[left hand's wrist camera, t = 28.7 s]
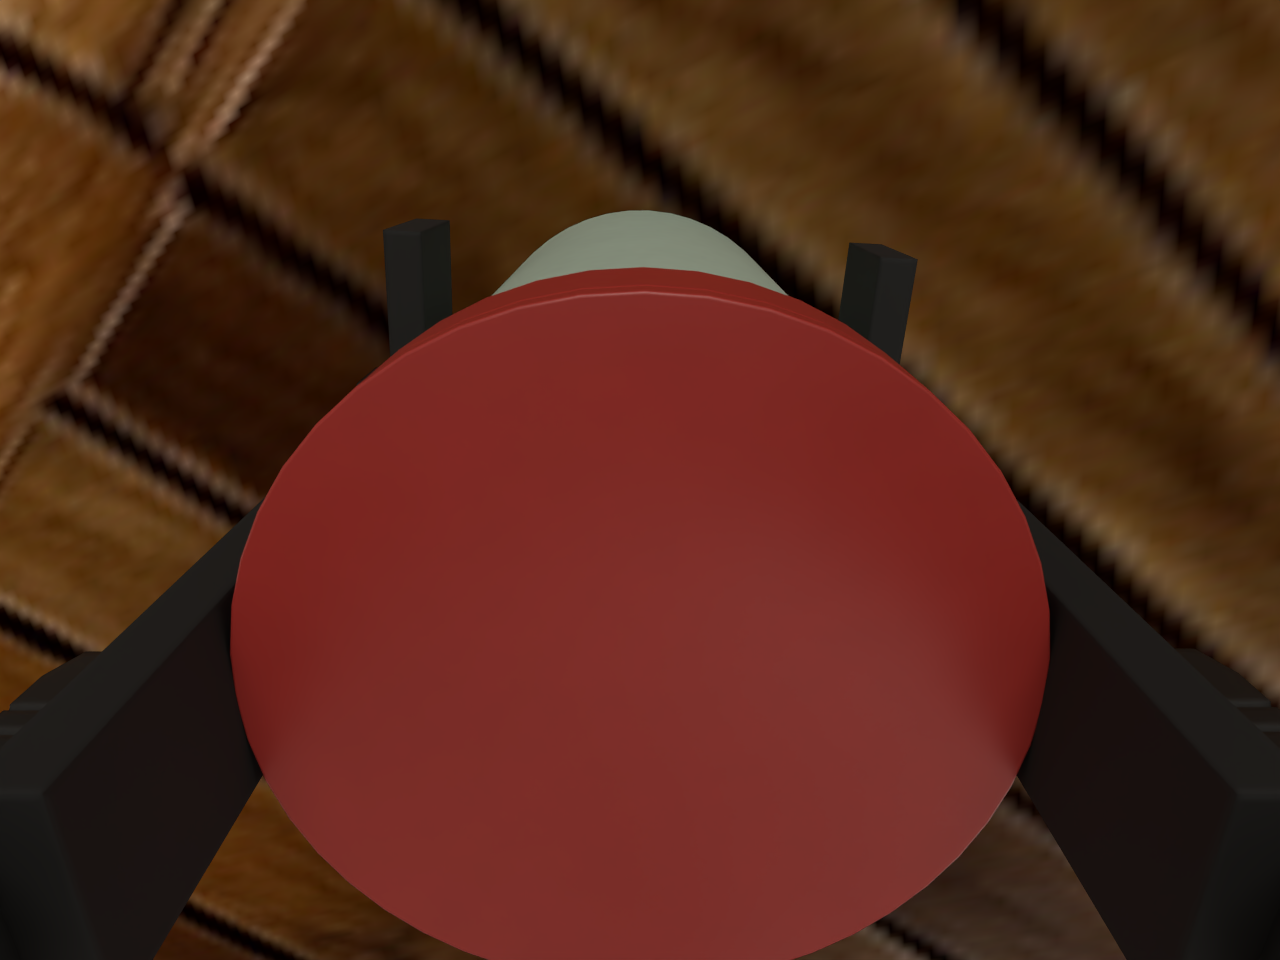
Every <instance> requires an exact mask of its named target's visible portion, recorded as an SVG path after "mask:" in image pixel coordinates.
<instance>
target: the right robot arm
mask: <svg viewBox="0 0 1280 960" xmlns="http://www.w3.org/2000/svg"><path fill="white" fill-rule="evenodd" d="M383 237H384V254H385V271H386V289H387V306H388V323H389V340H390V357H391V356H392V355H393V354H395V353H396V352H397V351H398V350H399V349H401V348H402V347H404V346H405V345H406V344H408V343H409V342H411V341H412V340H414V339H415V338H416V337H418V336H419V335H421V334H422V333H424V332H425V331H427V330H428V329H429V328H431V327H432V326H434V325H435V324H437V323H438V322H439V321H441V320H443V319H445V318H447V317H449V316H451V315H452V289H451V256H450V222H449V220H431V219H414V220H411V221H408V222H405V223H402V224H399V225H396V226H393V227H390V228H388V229H385V230H383ZM917 260H918V259H915V258H913V257H910V256H908V255H906V254H903V253H901V252H898V251H896V250H894V249H891V248H889V247H886V246H884V245H881V244H863V243H849V250H848V257H847V264H846V271H845V278H844V285H843V292H842V299H841V306H840V313H839V321H840V322H842V323H844V324H846V325H847V326H849V327H850V328H852V329H853V330H854V331H856V332H857V333H858V334H860V335H861V336H863V337H864V338H865V339H867V340H868V341H870V342H871V343H872V344H874V345H875V346H876V347H878V348H879V349H881V350H882V351H883V352H885V353H886V354H887V355H888V356H890V357H891V358H892V359H893V360H894V361H896V362H897V363H898V364H900V359H901V353H902V347H903V341H904V335H905V330H906V324H907V318H908V312H909V306H910V301H911V295H912V289H913V283H914V277H915V272H916V266H917ZM376 369H377V368H375V369H373V370H372V371H371V372H370V373H369V374H368V375H366V376H365V377H364V378H363V379H362V380H361V381H359V382H358V383H357V385H358V384H360V383H361V382H362V381H363V380H364V379H366V378H367V377H368V376H369V375H370V374H371V373H372V372H374V371H375V370H376Z"/></svg>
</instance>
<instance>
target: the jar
mask: <svg viewBox="0 0 1280 960" xmlns="http://www.w3.org/2000/svg"><path fill="white" fill-rule="evenodd" d="M636 267H649V268H663V269H676V270H689V271H699V272H704V273H709V274H714V275H718V276H723V277H728V278H732V279H737V280H742V281H746V282H751V283H754V284H756V285H759V286H762V287H765V288H767V289H770V290H773V291H776V292H779V293H781V294H784V295H787V294H786V293H785V292H784V291H783V290H782V289H781V288H780V287H779V286H778V285H777V284H776V283H775V282H774V281H773V280H772V279H771V278H770V277H769V276H768V275H767V274H766V273H765V272H764V270H763V269H762V268H761V267H760V266H759V265H758V264H757V263H756V262H755V261H754V260H753V259H752V258H751V257H750V256H749V255H748V254H747V253H746V252H745V251H744V250H743V249H741V248H740V247H739V246H738V245H736V244H735V243H734V242H733V241H731V240H730V239H729V238H728V237H726V236H724V235H723V234H721V233H719V232H718V231H716V230H714V229H713V228H711V227H709V226H706V225H704V224H702V223H699V222H697V221H695V220H692V219H689V218H686V217H682V216H679V215H675V214H671V213H664V212H657V211H623V212H616V213H609V214H605V215H601V216H598V217H594V218H591V219H587V220H585V221H583V222H580V223H578V224H576V225H574V226H571V227H569V228H567V229H565V230H564V231H562V232H561V233H559V234H557V235H556V236H554V237H553V238H551V239H549V240H548V241H547V242H546V243H545V244H543V245H542V246H541V247H540V248H539V249H537V250H536V251H535V252H534V253H533V254H532V255H531V256H530V257H529V258H528V259H527V260H526V261H525V262H524V263H523V264H522V265H521V266H520V267H519V268H518V269H517V270H516V271H515V272H514V273H513V274H512V275H511V276H510V277H509V278H508V280H507V281H506V282H505V283H504V284H503V285H502V286H501V287H500V288H499V289H498V290H497V291H496V292H495V293H494V294H493V295H496V294H499V293H502V292H505V291H507V290H510V289H513V288H516V287H519V286H522V285H525V284H528V283H531V282H534V281H537V280H542V279H547V278H552V277H557V276H563V275H568V274H573V273H578V272H583V271H588V270H602V269H619V268H636ZM493 295H492V296H493ZM787 296H788V295H787Z"/></svg>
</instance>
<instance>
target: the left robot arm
mask: <svg viewBox="0 0 1280 960" xmlns="http://www.w3.org/2000/svg"><path fill="white" fill-rule="evenodd" d="M264 499H265V498H264ZM264 499H263V500H262V501H261V502H260V503H259V504H258V505H257V506H255V507H254V508H253V509H252V510H251V511H250V512H249V513H248V514H247V515H246V516H245V517H244V518H243V519H242V520H241V521H240V522H239V523H238V524H236V525H235V526H234V527H233V528H232V529H231V530H230V531H229V532H228V533H227V534H226V535H225V536H224V537H223V538H222V539H221V540H220V541H219V542H217V543H216V544H215V545H214V546H213V547H212V548H211V549H210V550H209V551H208V552H207V553H206V554H205V555H204V556H203V557H202V558H201V559H200V560H198V561H197V562H196V563H195V564H194V565H193V566H192V567H191V568H190V569H189V570H188V571H187V572H186V573H185V574H184V575H183V576H182V577H180V578H179V579H178V580H177V581H176V582H175V583H174V584H173V585H172V586H171V587H170V588H169V589H168V590H167V591H166V592H165V593H164V594H163V595H161V596H160V597H159V598H158V599H157V600H156V601H155V602H154V603H153V604H152V605H151V606H150V607H149V608H148V609H147V610H146V611H145V612H144V613H142V614H141V615H140V616H139V617H138V618H137V619H136V620H135V621H134V622H133V623H132V624H131V625H130V626H129V627H128V628H127V629H126V630H125V631H123V632H122V633H121V634H120V635H119V636H118V637H117V638H116V639H115V640H114V641H113V642H112V643H111V644H110V645H109V646H108V647H107V648H105V649H104V650H103V651H102V652H84V653H83V654H81V655H79V656H77V657H75V658H74V659H72V660H70V661H68V662H66V663H65V664H63V665H61V666H59V667H57V668H56V669H54V670H52V671H50V672H48V673H47V674H45V675H43V676H42V677H40V678H39V679H38V680H37V681H36V682H35V683H34V684H33V685H31V686H30V687H29V688H28V689H27V690H26V691H25V692H24V693H22V694H21V695H20V696H19V697H18V698H17V699H16V700H15V701H14V702H12V703H11V704H10V709H9V711H2V712H1V713H0V960H153V958H154V957H155V955H156V953H157V952H158V950H159V948H160V947H161V945H162V943H163V941H164V940H165V938H166V936H167V935H168V933H169V931H170V930H171V928H172V926H173V925H174V923H175V921H176V920H177V918H178V916H179V915H180V913H181V911H182V910H183V908H184V906H185V905H186V903H187V901H188V900H189V898H190V896H191V894H192V893H193V891H194V889H195V888H196V886H197V884H198V883H199V881H200V879H201V878H202V876H203V874H204V873H205V871H206V869H207V868H208V866H209V864H210V863H211V861H212V859H213V858H214V856H215V854H216V853H217V851H218V849H219V848H220V846H221V844H222V842H223V841H224V839H225V837H226V836H227V834H228V832H229V831H230V829H231V827H232V826H233V824H234V822H235V821H236V819H237V817H238V816H239V814H240V812H241V811H242V809H243V807H244V806H245V804H246V802H247V801H248V799H249V797H250V796H251V794H252V792H253V790H254V789H255V787H256V785H257V784H258V782H259V780H260V779H261V777H262V775H263V773H262V771H261V769H260V766H259V764H258V762H257V760H256V758H255V755H254V753H253V751H252V749H251V746H250V744H249V742H248V739H247V736H246V732H245V729H244V725H243V721H242V718H241V714H240V710H239V706H238V702H237V697H236V692H235V687H234V680H233V672H232V664H231V656H230V638H231V606H232V600H233V595H234V589H235V584H236V579H237V574H238V569H239V563H240V558H241V555H242V553H243V550H244V547H245V544H246V542H247V539H248V536H249V533H250V531H251V528H252V525H253V522H254V520H255V517H256V514H257V512H258V510H259V508H260V506H261V504H262V503H263V501H264ZM1016 500H1017V499H1016ZM1017 502H1018V504H1019V506H1020V508H1021V509H1022V511H1023V513H1024V515H1025V517H1026V520H1027V523H1028V526H1029V529H1030V532H1031V534H1032V537H1033V540H1034V543H1035V546H1036V549H1037V552H1038V555H1039V558H1040V561H1041V564H1042V570H1043V575H1044V581H1045V587H1046V593H1047V599H1048V605H1049V611H1050V662H1049V669H1048V674H1047V679H1046V684H1045V689H1044V694H1043V699H1042V704H1041V708H1040V712H1039V717H1038V721H1037V725H1036V729H1035V732H1034V736H1033V739H1032V742H1031V746H1030V748H1029V750H1028V752H1027V754H1026V756H1025V758H1024V760H1023V763H1022V765H1021V767H1020V769H1019V771H1018V773H1017V776H1018V778H1019V780H1020V781H1021V783H1022V785H1023V786H1024V788H1025V790H1026V791H1027V793H1028V795H1029V796H1030V798H1031V800H1032V801H1033V803H1034V805H1035V806H1036V808H1037V810H1038V811H1039V813H1040V815H1041V817H1042V818H1043V820H1044V822H1045V823H1046V825H1047V827H1048V828H1049V830H1050V832H1051V833H1052V835H1053V837H1054V838H1055V840H1056V842H1057V843H1058V845H1059V847H1060V848H1061V850H1062V852H1063V853H1064V855H1065V857H1066V858H1067V860H1068V862H1069V864H1070V865H1071V867H1072V869H1073V870H1074V872H1075V874H1076V875H1077V877H1078V879H1079V880H1080V882H1081V884H1082V885H1083V887H1084V889H1085V890H1086V892H1087V894H1088V895H1089V897H1090V899H1091V900H1092V902H1093V904H1094V905H1095V907H1096V909H1097V910H1098V912H1099V914H1100V916H1101V917H1102V919H1103V921H1104V922H1105V924H1106V926H1107V927H1108V929H1109V931H1110V932H1111V934H1112V936H1113V937H1114V939H1115V941H1116V942H1117V944H1118V946H1119V947H1120V949H1121V951H1122V952H1123V954H1124V956H1125V957H1126V959H1127V960H1280V710H1279V709H1278V708H1277V707H1271V705H1270V701H1269V700H1268V699H1267V698H1266V697H1265V696H1264V695H1262V694H1261V693H1260V692H1259V691H1258V690H1257V689H1256V688H1255V687H1253V686H1252V685H1251V684H1250V683H1249V682H1248V681H1247V680H1246V679H1244V678H1243V677H1242V676H1241V675H1240V674H1239V673H1237V672H1235V671H1234V670H1232V669H1230V668H1228V667H1226V666H1225V665H1223V664H1221V663H1219V662H1217V661H1215V660H1214V659H1212V658H1210V657H1208V656H1206V655H1205V654H1203V653H1201V652H1199V651H1197V650H1196V649H1174V648H1173V647H1172V646H1171V645H1170V644H1169V643H1168V642H1167V641H1165V640H1164V639H1163V638H1162V637H1161V636H1160V635H1159V634H1158V633H1157V632H1156V631H1155V630H1154V629H1153V628H1152V627H1151V626H1150V625H1149V624H1148V623H1146V622H1145V621H1144V620H1143V619H1142V618H1141V617H1140V616H1139V615H1138V614H1137V613H1136V612H1135V611H1134V610H1133V609H1132V608H1131V607H1130V606H1129V605H1127V604H1126V603H1125V602H1124V601H1123V600H1122V599H1121V598H1120V597H1119V596H1118V595H1117V594H1116V593H1115V592H1114V591H1113V590H1112V589H1111V588H1109V587H1108V586H1107V585H1106V584H1105V583H1104V582H1103V581H1102V580H1101V579H1100V578H1099V577H1098V576H1097V575H1096V574H1095V573H1094V572H1093V571H1092V570H1090V569H1089V568H1088V567H1087V566H1086V565H1085V564H1084V563H1083V562H1082V561H1081V560H1080V559H1079V558H1078V557H1077V556H1076V555H1075V554H1074V553H1073V552H1071V551H1070V550H1069V549H1068V548H1067V547H1066V546H1065V545H1064V544H1063V543H1062V542H1061V541H1060V540H1059V539H1058V538H1057V537H1056V536H1055V535H1054V534H1052V533H1051V532H1050V531H1049V530H1048V529H1047V528H1046V527H1045V526H1044V525H1043V524H1042V523H1041V522H1040V521H1039V520H1038V519H1037V518H1036V517H1035V516H1033V515H1032V514H1031V513H1030V512H1029V511H1028V510H1027V509H1026V508H1025V507H1024V506H1023V505H1022V504H1021V503H1020V502H1019V501H1018V500H1017Z"/></svg>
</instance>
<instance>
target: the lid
mask: <svg viewBox="0 0 1280 960" xmlns="http://www.w3.org/2000/svg"><path fill="white" fill-rule="evenodd" d="M230 656H231V664H232V672H233V680H234V687H235V692H236V697H237V702H238V706H239V710H240V714H241V718H242V721H243V725H244V729H245V732H246V736H247V739H248V742H249V744H250V746H251V749H252V751H253V753H254V755H255V758H256V760H257V762H258V764H259V766H260V769H261V771H262V773H263V775H264V778H265V780H266V782H267V783H268V785H269V787H270V788H271V790H272V791H273V793H274V795H275V796H276V798H277V799H278V801H279V803H280V804H281V806H282V807H283V809H284V811H285V812H286V814H287V815H288V817H289V819H290V820H291V821H292V822H293V823H294V825H295V826H296V827H297V828H298V830H299V831H300V832H301V833H302V834H303V836H304V837H305V838H306V839H307V841H308V842H309V843H310V844H311V845H312V847H313V848H314V849H315V850H316V852H317V853H318V854H319V855H320V856H322V857H323V858H324V859H325V860H326V861H327V862H328V863H329V864H330V865H331V866H332V867H333V868H334V869H335V870H336V871H337V872H338V873H339V874H340V875H341V876H342V877H344V878H345V879H346V880H347V881H348V882H349V883H350V884H351V885H353V886H354V887H355V888H357V889H358V890H359V891H361V892H362V893H363V894H365V895H366V896H367V897H368V898H370V899H371V900H372V901H374V902H375V903H376V904H378V905H379V906H380V907H382V908H383V909H384V910H386V911H388V912H389V913H391V914H393V915H394V916H396V917H398V918H399V919H401V920H403V921H404V922H406V923H408V924H409V925H411V926H413V927H414V928H416V929H418V930H419V931H421V932H423V933H425V934H427V935H429V936H432V937H434V938H436V939H438V940H440V941H442V942H444V943H447V944H449V945H451V946H453V947H455V948H457V949H460V950H462V951H464V952H467V953H470V954H473V955H476V956H479V957H481V958H484V959H487V960H793V959H796V958H799V957H802V956H805V955H808V954H811V953H813V952H816V951H818V950H820V949H822V948H824V947H827V946H829V945H831V944H833V943H836V942H838V941H840V940H842V939H844V938H847V937H849V936H851V935H853V934H855V933H857V932H858V931H860V930H862V929H864V928H865V927H867V926H869V925H871V924H872V923H874V922H876V921H877V920H879V919H881V918H883V917H884V916H886V915H888V914H889V913H891V912H893V911H894V910H895V909H897V908H898V907H899V906H901V905H902V904H903V903H905V902H906V901H908V900H909V899H910V898H912V897H913V896H914V895H916V894H917V893H918V892H920V891H921V890H922V889H924V888H925V887H927V886H928V885H929V884H930V883H931V882H932V881H933V880H934V879H935V878H936V877H937V876H939V875H940V874H941V873H942V872H943V871H944V870H945V869H946V868H947V867H948V866H949V865H950V864H951V863H953V862H954V861H955V860H956V859H957V858H958V857H959V856H960V855H961V854H962V852H963V851H964V850H965V849H966V848H967V847H968V845H969V844H970V843H971V842H972V841H973V839H974V838H975V837H976V836H977V835H978V834H979V832H980V831H981V830H982V829H983V828H984V826H985V825H986V824H987V823H988V822H989V820H990V818H991V817H992V815H993V814H994V812H995V811H996V809H997V808H998V806H999V804H1000V803H1001V801H1002V800H1003V798H1004V797H1005V795H1006V794H1007V792H1008V791H1009V789H1010V787H1011V786H1012V784H1013V782H1014V780H1015V778H1016V775H1017V773H1018V771H1019V769H1020V767H1021V765H1022V763H1023V760H1024V758H1025V756H1026V754H1027V752H1028V750H1029V748H1030V746H1031V742H1032V739H1033V736H1034V732H1035V729H1036V725H1037V721H1038V717H1039V712H1040V708H1041V704H1042V699H1043V694H1044V689H1045V684H1046V679H1047V674H1048V669H1049V662H1050V611H1049V605H1048V599H1047V593H1046V587H1045V581H1044V575H1043V570H1042V564H1041V561H1040V558H1039V555H1038V552H1037V549H1036V546H1035V543H1034V540H1033V537H1032V534H1031V532H1030V529H1029V526H1028V523H1027V520H1026V517H1025V515H1024V513H1023V511H1022V509H1021V508H1020V506H1019V504H1018V502H1017V500H1016V498H1015V496H1014V494H1013V493H1012V491H1011V489H1010V487H1009V485H1008V483H1007V481H1006V479H1005V478H1004V476H1003V474H1002V472H1001V471H1000V469H999V468H998V467H997V465H996V464H995V463H994V461H993V460H992V459H991V457H990V456H989V455H988V453H987V452H986V451H985V449H984V448H983V447H982V445H981V444H980V443H979V441H978V440H977V439H976V437H975V436H974V435H973V433H972V432H971V431H970V430H969V428H968V427H966V426H965V425H964V424H963V423H962V422H961V421H960V420H959V419H958V418H957V417H956V416H955V415H954V414H953V413H952V412H951V411H950V410H949V409H948V408H947V407H946V406H945V405H944V404H943V403H942V402H941V401H940V400H939V399H938V398H937V397H936V396H935V395H934V394H933V393H932V392H931V391H930V390H928V389H927V388H926V387H925V386H924V385H922V384H921V383H920V382H919V381H918V380H917V379H915V378H914V377H913V376H912V375H911V374H910V373H908V372H907V371H906V370H905V369H904V368H903V367H901V366H900V365H899V364H898V363H897V362H896V361H894V360H893V359H892V358H891V357H890V356H888V355H887V354H886V353H885V352H883V351H882V350H881V349H879V348H878V347H876V346H875V345H874V344H872V343H871V342H870V341H868V340H867V339H865V338H864V337H863V336H861V335H860V334H858V333H857V332H856V331H854V330H853V329H852V328H850V327H849V326H847V325H846V324H844V323H842V322H840V321H839V320H837V319H835V318H833V317H831V316H829V315H827V314H825V313H823V312H821V311H820V310H818V309H816V308H814V307H812V306H810V305H808V304H806V303H804V302H802V301H801V300H798V299H795V298H792V297H790V296H787V295H784V294H781V293H779V292H776V291H773V290H770V289H767V288H765V287H762V286H759V285H756V284H754V283H751V282H746V281H742V280H737V279H732V278H728V277H723V276H718V275H714V274H709V273H704V272H699V271H689V270H676V269H663V268H649V267H636V268H619V269H602V270H588V271H583V272H578V273H573V274H568V275H563V276H557V277H552V278H547V279H542V280H537V281H534V282H531V283H528V284H525V285H522V286H519V287H516V288H513V289H510V290H507V291H505V292H502V293H499V294H496V295H493V296H490V297H487V298H485V299H483V300H481V301H479V302H477V303H475V304H473V305H471V306H469V307H467V308H465V309H463V310H461V311H459V312H457V313H455V314H453V315H451V316H449V317H447V318H445V319H443V320H441V321H439V322H438V323H437V324H435V325H434V326H432V327H431V328H429V329H428V330H427V331H425V332H424V333H422V334H421V335H419V336H418V337H416V338H415V339H414V340H412V341H411V342H409V343H408V344H406V345H405V346H404V347H402V348H401V349H399V350H398V351H397V352H396V353H395V354H393V355H392V356H391V357H390V358H389V359H388V360H386V361H385V362H384V363H383V364H382V365H381V366H379V367H378V368H377V369H376V370H375V371H374V372H372V373H371V374H370V375H369V376H368V377H367V378H366V379H364V380H363V381H362V382H361V383H360V384H358V385H357V386H356V387H355V388H354V389H353V390H352V391H351V392H350V393H349V394H348V395H347V396H345V397H344V398H343V399H342V400H341V401H340V402H339V403H338V404H337V405H336V406H335V407H334V408H333V409H332V410H331V411H329V412H328V413H327V414H326V415H325V416H324V417H323V418H322V419H321V420H320V421H319V422H318V423H317V424H316V425H315V426H314V427H313V429H312V430H311V431H310V432H309V434H308V435H307V436H306V437H305V439H304V440H303V441H302V443H301V444H300V445H299V446H298V448H297V449H296V450H295V451H294V453H293V454H292V455H291V457H290V458H289V459H288V460H287V462H286V463H285V464H284V465H283V467H282V469H281V470H280V472H279V474H278V476H277V478H276V479H275V481H274V483H273V485H272V486H271V488H270V490H269V492H268V494H267V495H266V497H265V499H264V501H263V503H262V504H261V506H260V508H259V510H258V512H257V514H256V517H255V520H254V522H253V525H252V528H251V531H250V533H249V536H248V539H247V542H246V544H245V547H244V550H243V553H242V555H241V558H240V563H239V569H238V574H237V579H236V584H235V589H234V595H233V600H232V606H231V638H230Z"/></svg>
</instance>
